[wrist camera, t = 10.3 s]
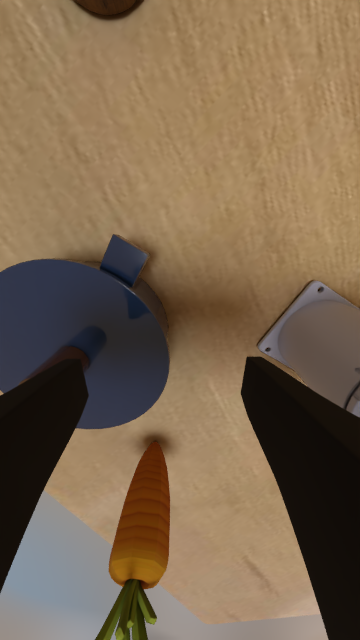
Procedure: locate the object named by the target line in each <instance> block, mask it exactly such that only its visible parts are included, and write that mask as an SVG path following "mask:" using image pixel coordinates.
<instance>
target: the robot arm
mask: <svg viewBox="0 0 360 640" xmlns="http://www.w3.org/2000/svg"><path fill="white" fill-rule="evenodd" d="M319 287H321V290H320V291H318V288H319ZM267 347H269V349H267V350H265V349H266V348H267ZM258 349H259V350H260V351H262V352H263V353H265V354H267V355H269V356H270V357H272V358H274V359H276V360H278V361H279V362H281V363H283V364H285V365H286V366H288V367H290V368H292V369H293V370H294V371H295V372H296V373H297V374H298V375H299V376H300V378H301V379H302V380H303V381H304V382H305V383H306V385H307V386H308V387H307V386H305V385H304V384H302V383H301V382H299V381H298V380H296V379H295V378H293V377H292V376H290V375H289V374H287V373H286V372H284V371H283V370H281V369H280V368H278V367H277V366H275V365H274V364H272V363H270V362H269V361H267V360H266V359H264V358H262V357H247V359H246V365H245V371H244V377H243V383H242V389H241V395H242V399H243V402H244V406H245V409H246V412H247V415H248V418H249V420H250V422H251V424H252V427H253V429H254V431H255V434H256V436H257V438H258V440H259V443H260V445H261V447H262V449H263V452H264V454H265V456H266V458H267V461H268V463H269V465H270V467H271V470H272V472H273V474H274V477H275V479H276V481H277V484H278V486H279V489H280V492H281V495H282V497H283V500H284V503H285V506H286V509H287V512H288V514H289V517H290V520H291V523H292V526H293V529H294V532H295V535H296V538H297V541H298V544H299V547H300V550H301V553H302V556H303V559H304V562H305V565H306V568H307V571H308V574H309V577H310V581H311V584H312V587H313V590H314V593H315V597H316V600H317V603H318V606H319V609H320V613H321V616H322V619H323V622H324V625H325V629H326V632H327V636H328V639H329V640H360V309H359V308H358V307H356V306H355V305H353V304H352V303H350V302H349V301H347V300H346V299H345V298H343V297H342V296H340V295H339V294H337V293H336V292H334V291H333V290H332V289H330V288H329V287H327V286H326V285H324V284H323V283H321V282H320V281H317V280H315V281H312V282H311V283H310V284H309V285H308V286H307V287H306V288H305V289H304V291H303V292H302V293H301V294H300V295H299V296H298V298H297V299H296V300H295V301H294V302H293V304H292V305H291V306H290V307H289V308H288V309H287V311H286V312H285V313H284V314H283V315H282V317H281V318H280V319H279V320H278V321H277V322H276V324H275V325H274V326H273V327H272V328H271V329H270V331H269V332H268V333H267V334H266V335H265V337H264V338H263V339H262V340H261V341H260V342H259V344H258ZM88 397H89V394H88V390H87V385H86V381H85V376H84V372H83V367H82V363H81V359H65V360H63V361H61V362H59V363H57V364H55V365H53V366H51V367H49V368H48V369H46V370H44V371H43V372H41V373H39V374H37V375H36V376H34V377H32V378H30V379H29V380H27V381H25V382H24V383H22V384H20V385H18V386H17V387H15V388H13V389H11V390H10V391H8V392H6V393H4V394H2V395H1V396H0V593H1V590H2V587H3V585H4V582H5V580H6V577H7V575H8V572H9V570H10V567H11V565H12V562H13V560H14V557H15V555H16V553H17V550H18V548H19V545H20V543H21V540H22V538H23V535H24V533H25V531H26V528H27V526H28V524H29V521H30V519H31V517H32V514H33V512H34V510H35V507H36V505H37V503H38V500H39V498H40V496H41V494H42V492H43V490H44V488H45V486H46V484H47V482H48V480H49V478H50V476H51V474H52V472H53V470H54V468H55V466H56V464H57V463H58V461H59V459H60V457H61V455H62V453H63V451H64V449H65V447H66V445H67V444H68V442H69V440H70V438H71V436H72V434H73V432H74V430H75V428H76V426H77V424H78V422H79V420H80V418H81V416H82V413H83V411H84V408H85V405H86V403H87V400H88Z"/></svg>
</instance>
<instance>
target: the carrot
mask: <svg viewBox="0 0 360 640" xmlns="http://www.w3.org/2000/svg"><path fill="white" fill-rule="evenodd" d="M169 529H170V494H169V481H168V472H167V466H166V462H165V458H164V455H163V452H162V450H161V447H160V445H159V444H158V443H157V442H156V441H155V442H153V443H151V444H150V446H149V447H148V448H147V450H146V451H145V453H144V454H143V456H142V458H141V459H140V461H139V464H138V466H137V469H136V471H135V473H134V476H133V479H132V482H131V484H130V487H129V490H128V493H127V496H126V499H125V502H124V506H123V509H122V513H121V517H120V520H119V524H118V528H117V532H116V536H115V540H114V544H113V548H112V552H111V555H110V561H109V573H110V576H111V578H112V579H113V580H114V581H115V582H116V583H117V584H119V585H120V586H122V587H123V588H122V590H121V592H120V594H119V596H118V598H117V600H116V602H115V604H114V606H113V608H112V609H111V611H110V613H109V615H108V617H107V619H106V621H105V623H104V625H103V627H102V629H101V630H100V632H99V634H98V636H97V637H96V639H95V640H110V639H111V636H112V634H113V632H114V629H115V627H116V624H117V622H118V619H119V617H120V619H119V623H118V627H117V629H116V633H115V636H116V639H117V640H130V630H129V628H131V627H132V639H133V640H148V638H147V633H146V628H145V620H146V622H147V623H150V624H155V622H156V619H157V617H156V615H155V612H154V610H153V608H152V606H151V604H150V602H149V600H148V598H147V596H146V594H145V592H144V589H148V588H153V587H154V586H156V585H157V583H158V582H159V580H160V579H161V577H162V576H163V574H164V572H165V571H166V568H167V564H168V556H169ZM120 614H121V615H120ZM144 617H145V620H144Z"/></svg>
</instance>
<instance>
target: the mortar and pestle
mask: <svg viewBox="0 0 360 640" xmlns="http://www.w3.org/2000/svg"><path fill="white" fill-rule="evenodd" d="M76 1H77V2H78V3H79V4H81V5H82V6H84V7H85V8H87V9H88V10H90V11H93V12H95V13H99V14H104V15H110V14H117V13H120V12H123V11H125V10H127V9H128V8H130V7H131V6H132V5H133V4H134V3H135V2H136V0H76Z"/></svg>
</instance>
